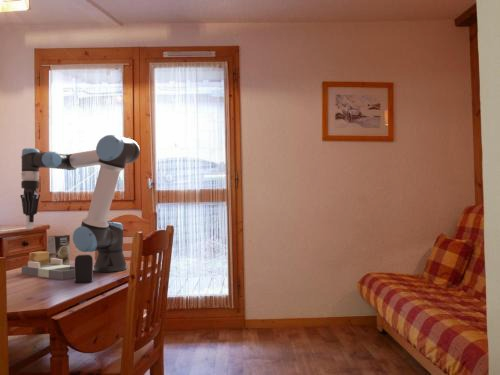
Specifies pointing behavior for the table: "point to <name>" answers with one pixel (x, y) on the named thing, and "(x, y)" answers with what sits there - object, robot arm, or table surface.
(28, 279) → the table surface
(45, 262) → the block
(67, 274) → the tunnel deck
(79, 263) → the battery charger
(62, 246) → the coffee box
